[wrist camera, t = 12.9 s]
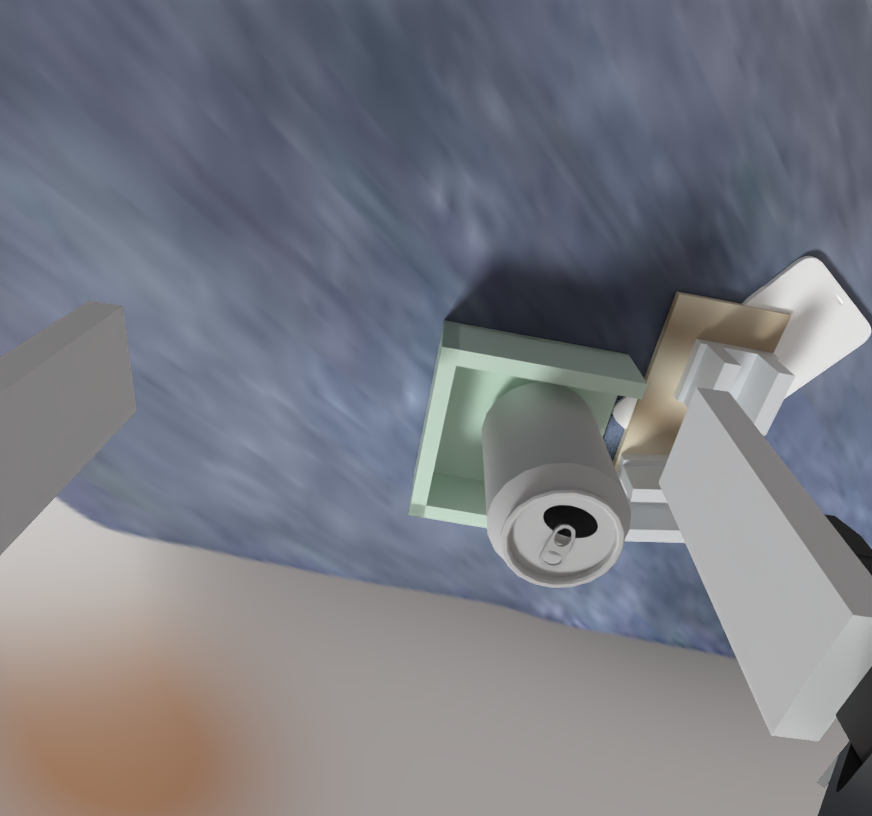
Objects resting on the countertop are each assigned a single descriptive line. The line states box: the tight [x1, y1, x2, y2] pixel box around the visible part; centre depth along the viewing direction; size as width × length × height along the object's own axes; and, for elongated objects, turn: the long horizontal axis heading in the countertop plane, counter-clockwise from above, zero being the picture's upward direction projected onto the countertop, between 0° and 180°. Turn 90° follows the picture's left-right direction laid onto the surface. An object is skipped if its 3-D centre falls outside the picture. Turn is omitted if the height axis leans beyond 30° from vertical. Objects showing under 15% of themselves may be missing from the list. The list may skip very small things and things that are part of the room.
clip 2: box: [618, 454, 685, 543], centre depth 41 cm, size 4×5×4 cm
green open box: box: [409, 320, 648, 528], centre depth 40 cm, size 12×12×4 cm
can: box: [482, 382, 631, 588], centre depth 36 cm, size 8×8×12 cm
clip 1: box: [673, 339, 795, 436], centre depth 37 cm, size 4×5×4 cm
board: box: [613, 291, 791, 474], centre depth 41 cm, size 17×7×1 cm, turn 170°
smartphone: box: [612, 256, 871, 430], centre depth 40 cm, size 7×1×15 cm
